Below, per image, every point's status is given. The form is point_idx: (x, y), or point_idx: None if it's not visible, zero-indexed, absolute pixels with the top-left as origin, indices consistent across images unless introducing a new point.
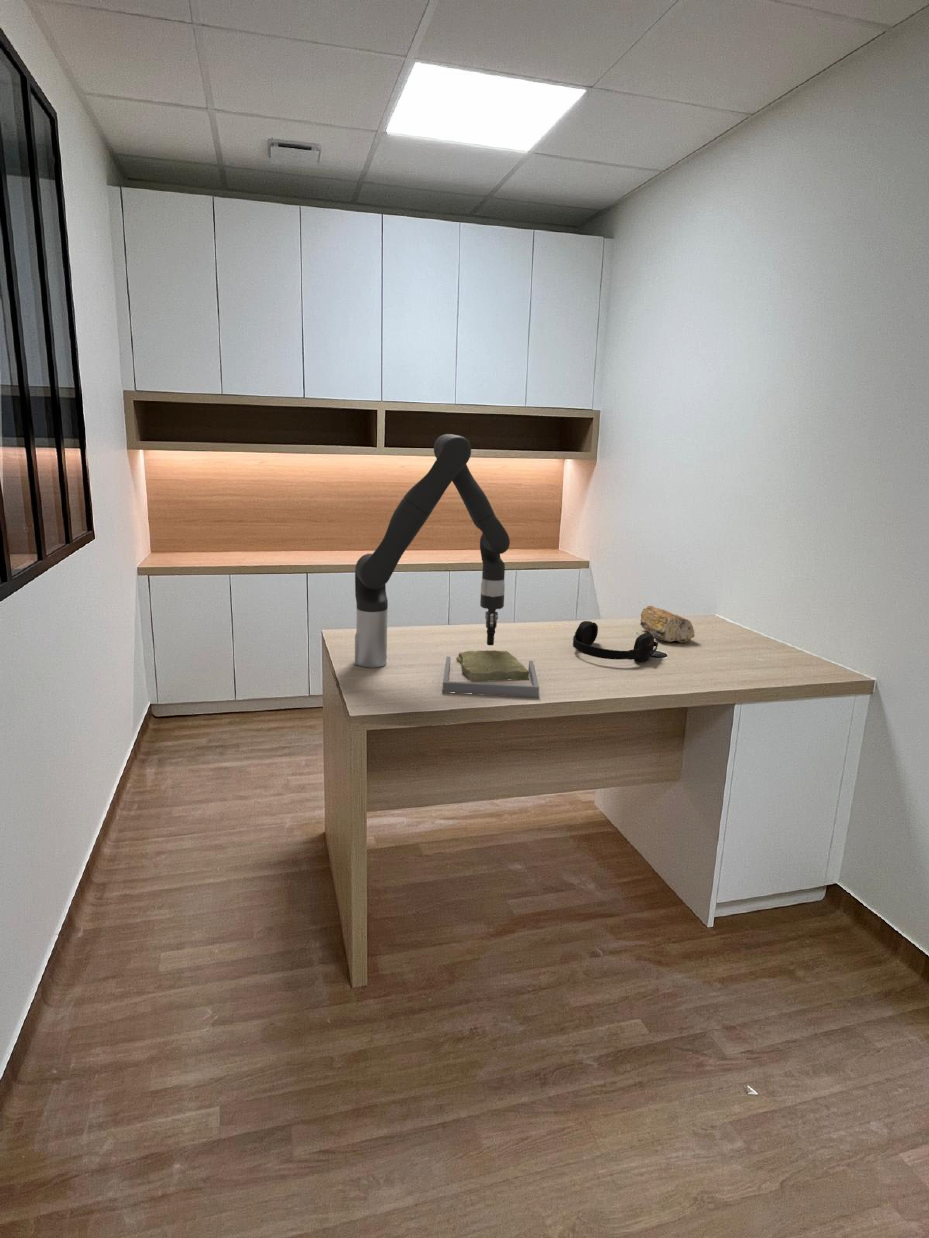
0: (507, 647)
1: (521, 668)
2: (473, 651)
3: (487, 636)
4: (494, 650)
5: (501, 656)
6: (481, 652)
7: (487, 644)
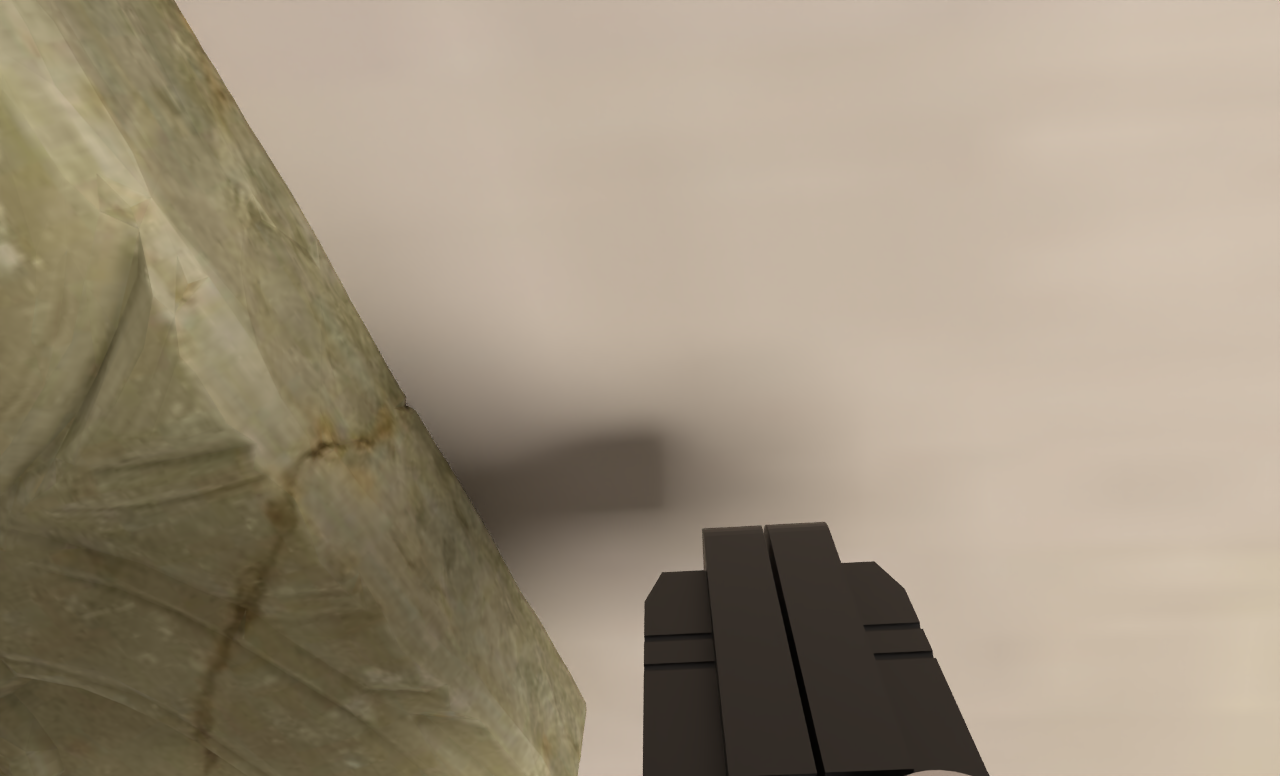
0: (1181, 706)
1: None
2: (6, 195)
3: (716, 710)
4: (400, 662)
5: (119, 766)
6: (102, 407)
7: (706, 537)
